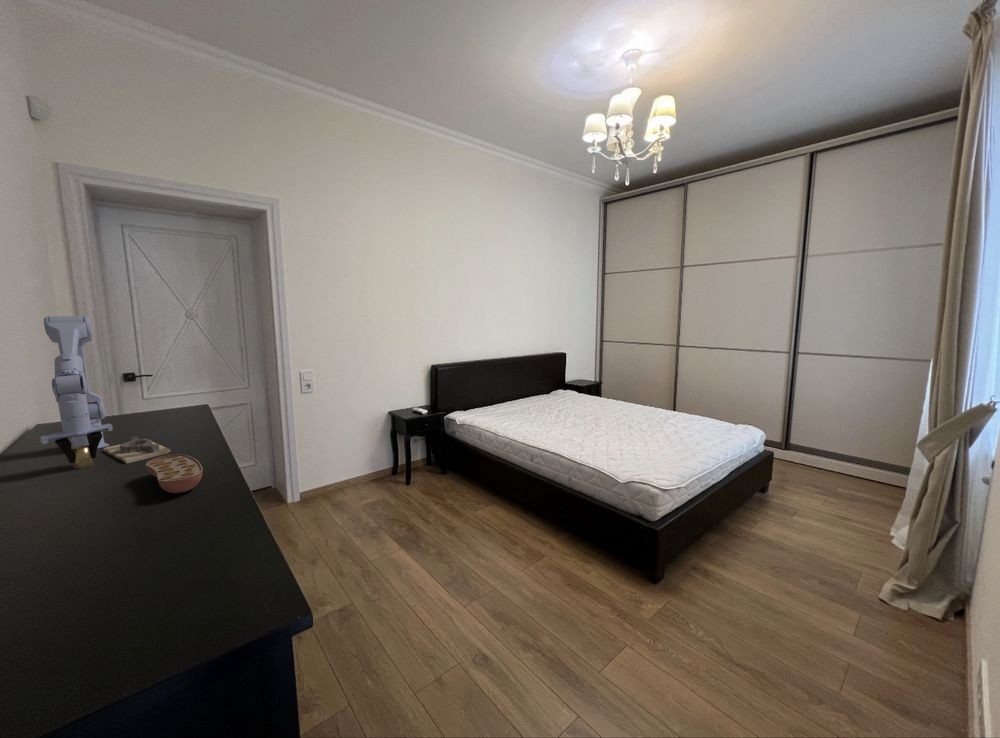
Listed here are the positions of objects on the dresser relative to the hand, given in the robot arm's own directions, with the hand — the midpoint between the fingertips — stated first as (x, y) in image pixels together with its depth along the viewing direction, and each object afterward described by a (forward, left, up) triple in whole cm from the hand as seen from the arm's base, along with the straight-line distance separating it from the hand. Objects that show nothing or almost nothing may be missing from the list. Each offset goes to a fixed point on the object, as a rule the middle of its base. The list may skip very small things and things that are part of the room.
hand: (82, 460), depth 118 cm
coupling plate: (-2, +13, -2) cm, 13 cm away
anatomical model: (+37, +10, -2) cm, 38 cm away
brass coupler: (0, 0, -2) cm, 2 cm away
